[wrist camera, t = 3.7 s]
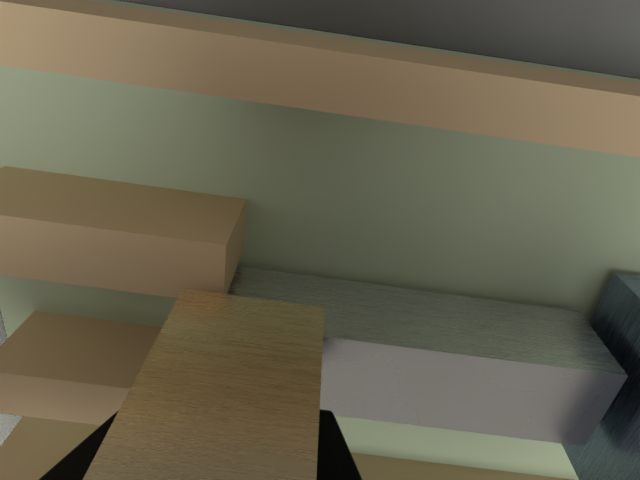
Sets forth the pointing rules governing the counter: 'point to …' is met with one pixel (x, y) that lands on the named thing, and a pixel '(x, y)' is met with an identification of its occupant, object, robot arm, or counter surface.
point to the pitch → (284, 199)
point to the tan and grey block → (373, 376)
